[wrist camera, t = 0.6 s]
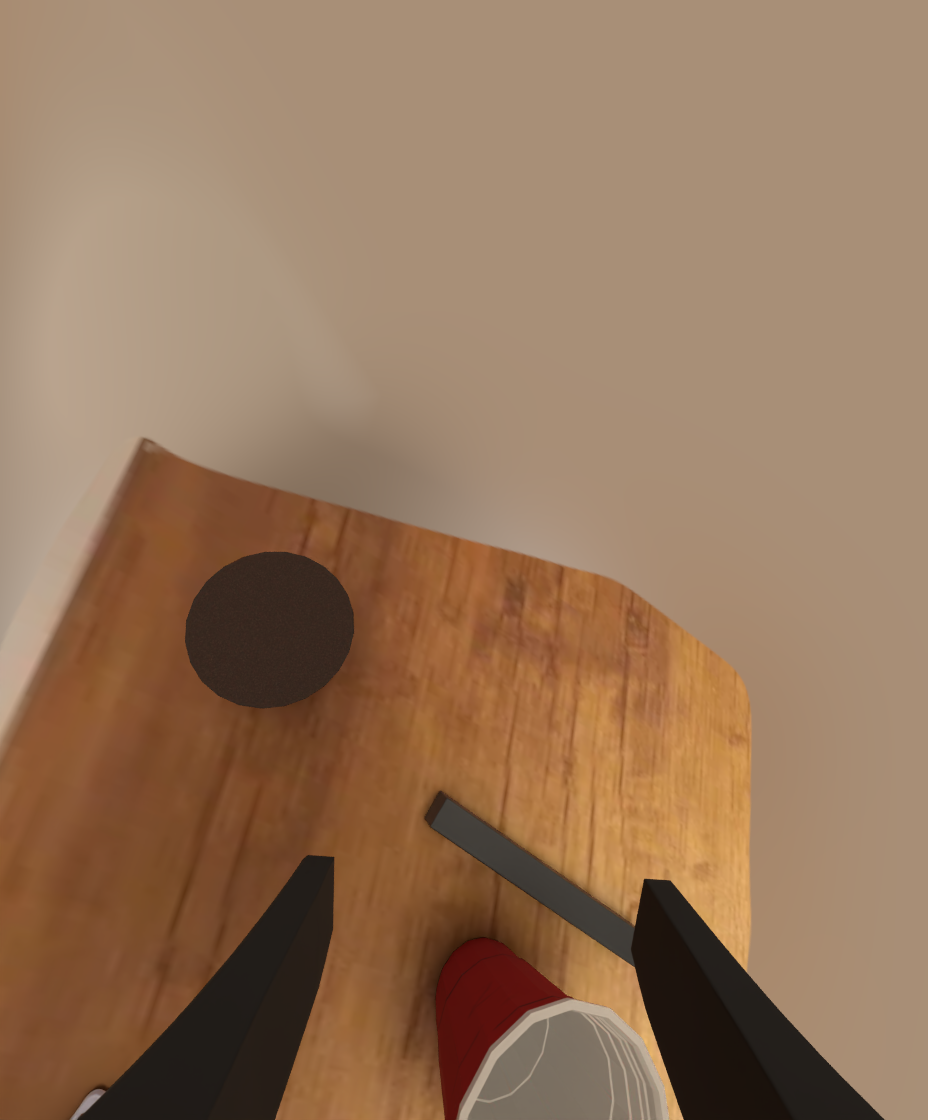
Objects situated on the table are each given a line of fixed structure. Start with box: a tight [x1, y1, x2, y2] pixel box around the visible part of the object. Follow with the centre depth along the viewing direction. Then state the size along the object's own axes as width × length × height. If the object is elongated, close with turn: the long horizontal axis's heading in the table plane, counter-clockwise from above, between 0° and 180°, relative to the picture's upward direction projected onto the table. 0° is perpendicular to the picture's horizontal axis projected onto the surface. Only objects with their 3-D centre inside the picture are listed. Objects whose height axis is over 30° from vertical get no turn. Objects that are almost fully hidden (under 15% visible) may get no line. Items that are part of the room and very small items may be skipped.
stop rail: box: [425, 791, 635, 967], centre depth 31 cm, size 2×18×2 cm, turn 55°
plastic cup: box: [436, 937, 669, 1120], centre depth 24 cm, size 11×11×12 cm
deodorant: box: [185, 552, 354, 708], centre depth 24 cm, size 6×6×15 cm
